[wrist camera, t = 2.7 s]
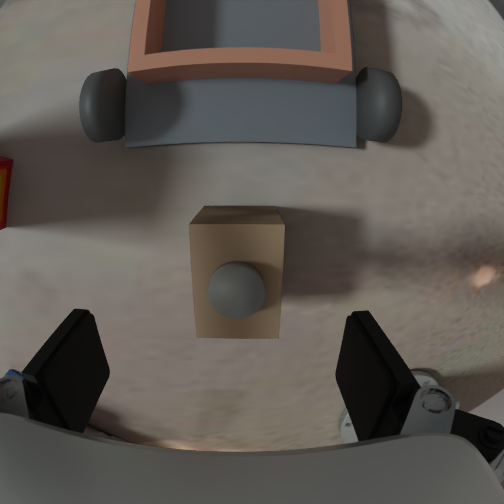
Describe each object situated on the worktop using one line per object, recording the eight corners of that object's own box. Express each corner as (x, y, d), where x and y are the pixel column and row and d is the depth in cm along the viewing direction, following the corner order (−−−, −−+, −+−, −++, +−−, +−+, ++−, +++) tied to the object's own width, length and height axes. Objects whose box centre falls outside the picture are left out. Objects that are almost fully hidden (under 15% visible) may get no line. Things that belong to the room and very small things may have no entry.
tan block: (274, 206, 21) (287, 229, 15) (271, 295, 24) (280, 347, 17) (204, 205, 21) (185, 228, 15) (207, 294, 23) (194, 346, 17)
